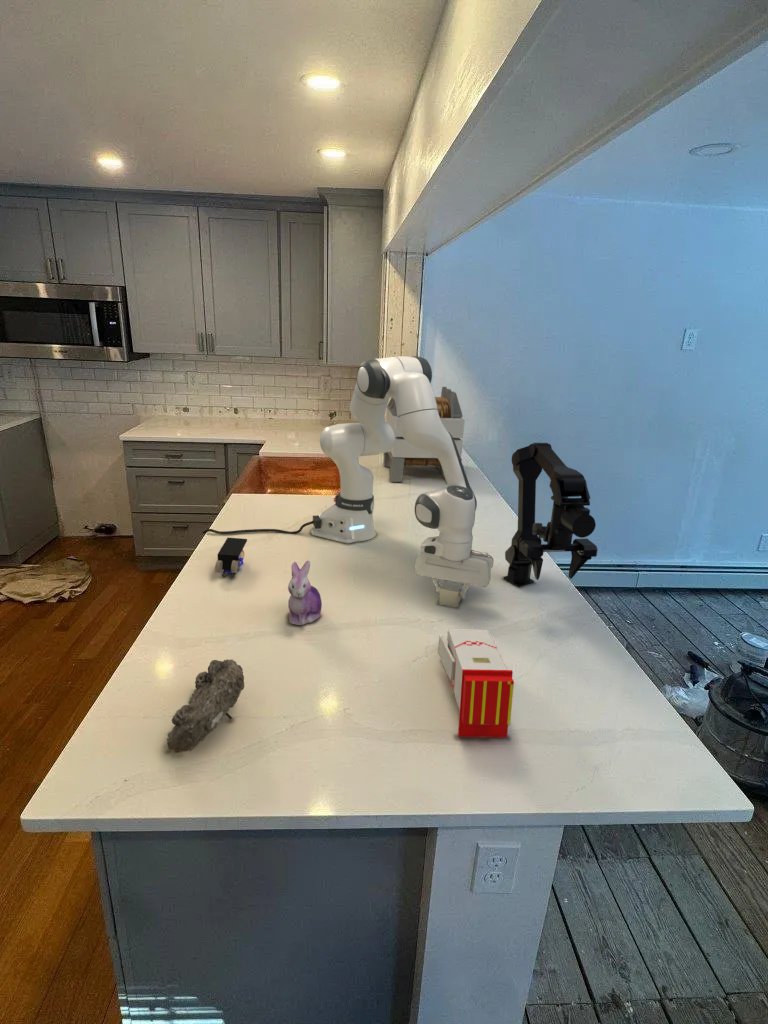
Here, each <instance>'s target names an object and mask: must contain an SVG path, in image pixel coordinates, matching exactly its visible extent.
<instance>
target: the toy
mask: <svg viewBox="0 0 768 1024" xmlns="http://www.w3.org/2000/svg"><path fill="white" fill-rule="evenodd" d="M446 640H447V643H446V641H445V639H444V636H443V635H442V634H439V637H438V646H437V656H438V657H439V659H440V661H441V663H442V666H443V668H444V670H445V672H446V674H447V677H448V679H449V681H450V684H451V687H452V690H453V693H454V697H455V701H456V705H457V708H458V711H459V714H458V715H459V716H458V730H457V731H458V732H457V737H458V738H508V731H509V726H510V725H511V717H512V707H513V697H514V696H513V695H514V684H515V680H514V679H513V673H514V671H513V670H512V669H508V667H507V665H506V662H505V661H504V659H503V658H502V655H501V653H500V651H499V649H498V647H497V643H496V639H495V637H494V635H493V634H491V632H490V631H489V629H467V628H466V629H465V628H463V629H461V628H460V629H459V628H448V630H447V639H446Z"/></svg>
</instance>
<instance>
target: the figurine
mask: <svg viewBox="0 0 768 1024" xmlns="http://www.w3.org/2000/svg"><path fill="white" fill-rule="evenodd" d="M310 568H311V561H310V560H307V561H305V563H304V564H303V565H302V567H300V566H299V564H298V563H297V562H296V561H293V562H292V563H291V579H290V580H289V583H288V586H287V590H288V593H289V594H290V596H289V598H288V603H287V604H288V610H289V614H288V617H289V623H290V624H292V625H297V626H303V625H306V624H310V623H313V622H315V621H317V619H319V618H320V617H321V612H322V603H323V602H322V597H321V594H320V591H319V590H318V589H317V588H316V587H315V586H313V585H311V582H310V580H309V578H308V576H309V572H310Z"/></svg>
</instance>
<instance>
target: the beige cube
mask: <svg viewBox="0 0 768 1024" xmlns="http://www.w3.org/2000/svg"><path fill="white" fill-rule="evenodd" d="M441 585H442V586H441V588H440V593H439V596H438V597H439V599H438V605H441V606H445V607H451V608H456V609H458V607H459V604H460V602H461V600H462V597H459V592H460V590H461V589H463V583H459V582H453V581H448V580H444V581H443V582H442V584H441Z"/></svg>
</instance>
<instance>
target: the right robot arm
mask: <svg viewBox="0 0 768 1024" xmlns="http://www.w3.org/2000/svg"><path fill="white" fill-rule="evenodd" d="M511 464H512V472H513V473H514V475H515V477H516V478H517V481H518V494H517V495H518V496H517V500H518V501H517V530H516V532H515V533H514V535H513V536H512V538H511V542H510V543H511V544H510V546H509V547H508V548H507V549H506V550H505V552H504V559H505V561H506V562H507V563H508V564H509V566H508V569H507V575H505V576H504V577H503V579H504V580H505V581H507V582H509V583H511V584H513V585H515V586H516V587H518V588H519V587H524V586H527V585H530V584H534V583H535V580H533V579H532V578H531V574H532V570H533V575H534V579H536V580H537V581H538V580H540V577H541V572H542V567H543V564H544V559H543V556H544V553H557V552H558V553H560V552H570V554H571V559H570V564H569V568H568V569H569V570H568V578H569V579H570V580H571V579H573V578H574V577H575V576H576V574H577V573H578V571H579V570H581V568H582V567H583V566H584V565H585V564H586V563H587V562H588V561H590V560H592V558H595V557H597V556H598V546H597V545H596V544H595V543H594V542H592V540H590V539H588V538H587V537H589V536H590V535H592V533H593V532H594V531H595V529H596V525H597V524H596V519H595V518H594V517H593V516H592V515H591V514H590V513H591V509H589V508H588V506H590V505H591V502H590V499H591V495H590V493H589V488H588V484H587V480H586V478H585V476H584V474H582V473H581V472H579V471H578V470H577V469H574V468H571V467H568V466H567V464H565V462H564V461H563V460H562V459H561V458H560V457H559V456H558V454H557V453H556V452H555V451H554V450H553V448H552V445H551V443H549V442H533V443H530V444H529V445H526V446H523V447H521V448H518V449H516V450H515V451H514V452H513V453H512V454H511ZM543 471H544V472H545V474H546V475H547V477H548V478H549V481H550V482H549V488H550V490H551V492H552V495H551V496H550V499H551V500H552V502H553V503H552V508H551V509H552V510H551V517H550V521H547V523H546V525H545V526H544V525H543V523H542V522H536V501H537V500H536V499H537V498H536V494H537V480H538V478H539V477H540V476H541V473H542V472H543ZM585 506H587V507H585ZM573 535H574V536H576V537H577V538H575V539H573ZM542 541H543V542H544V544H543V543H542Z"/></svg>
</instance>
